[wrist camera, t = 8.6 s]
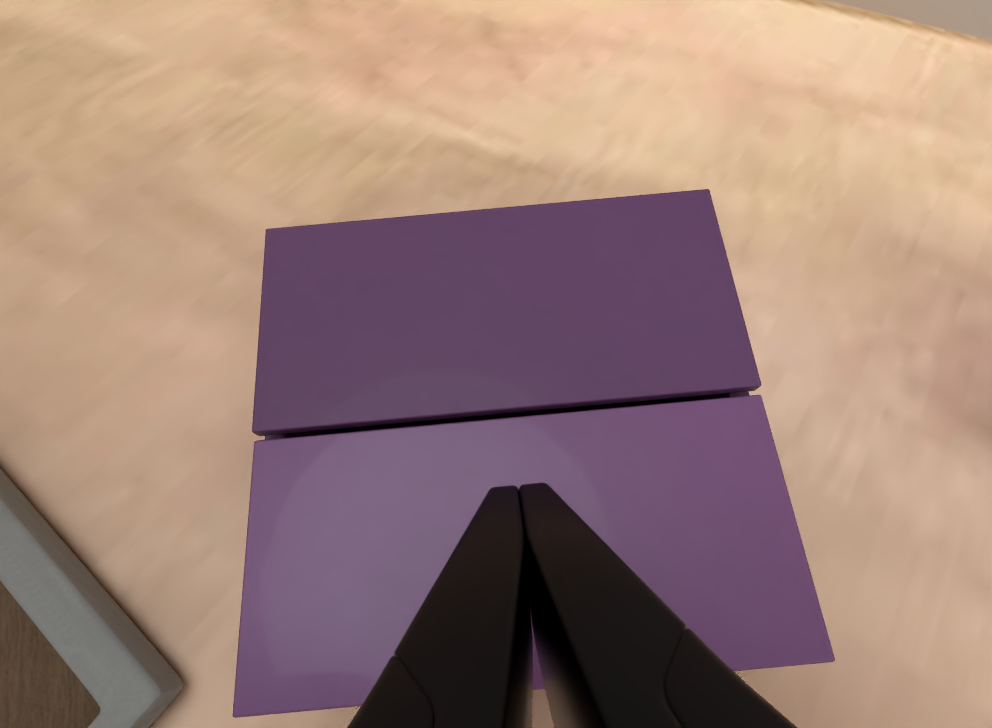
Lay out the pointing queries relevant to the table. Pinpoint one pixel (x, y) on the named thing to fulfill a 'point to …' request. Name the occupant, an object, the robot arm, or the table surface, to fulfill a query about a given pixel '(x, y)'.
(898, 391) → the table surface
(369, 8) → the table surface
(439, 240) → the box
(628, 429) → the flap
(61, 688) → the grey rectangular tray
